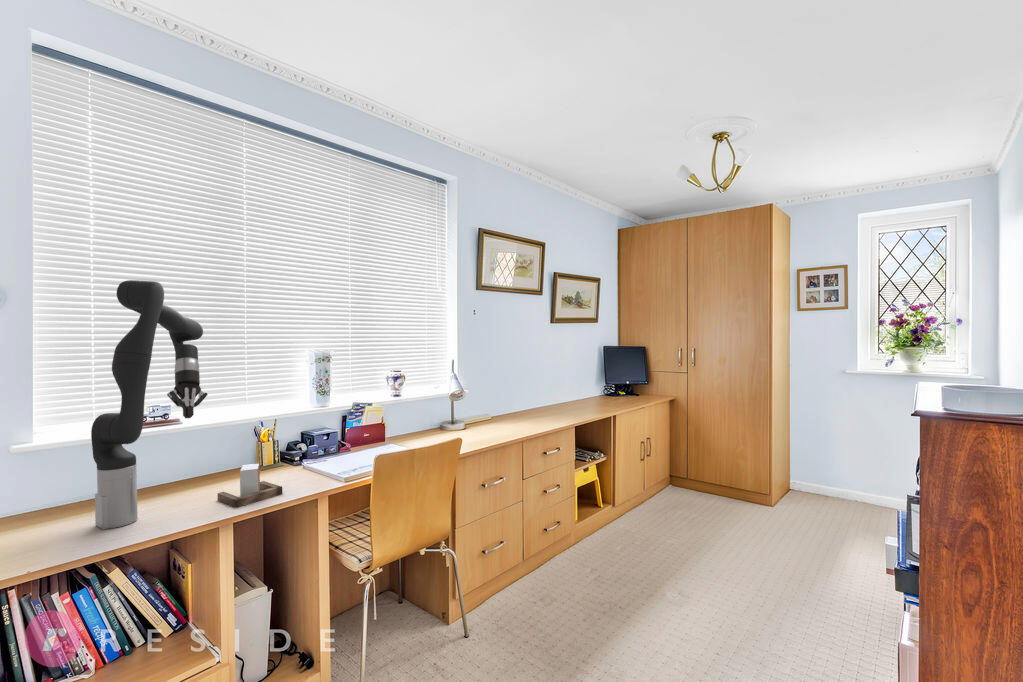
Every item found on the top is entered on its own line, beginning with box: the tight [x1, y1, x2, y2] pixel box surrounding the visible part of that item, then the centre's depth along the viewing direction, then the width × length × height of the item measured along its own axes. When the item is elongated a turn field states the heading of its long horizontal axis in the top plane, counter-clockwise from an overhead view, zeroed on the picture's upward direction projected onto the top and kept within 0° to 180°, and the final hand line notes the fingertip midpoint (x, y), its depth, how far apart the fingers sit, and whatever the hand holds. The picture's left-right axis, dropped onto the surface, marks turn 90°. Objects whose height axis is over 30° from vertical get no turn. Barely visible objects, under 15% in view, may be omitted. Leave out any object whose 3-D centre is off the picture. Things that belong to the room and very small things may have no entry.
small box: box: [239, 463, 261, 497], centre depth 168 cm, size 8×6×10 cm
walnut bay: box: [217, 480, 283, 508], centre depth 168 cm, size 16×12×2 cm
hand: (188, 417), depth 172 cm, fingers closed
